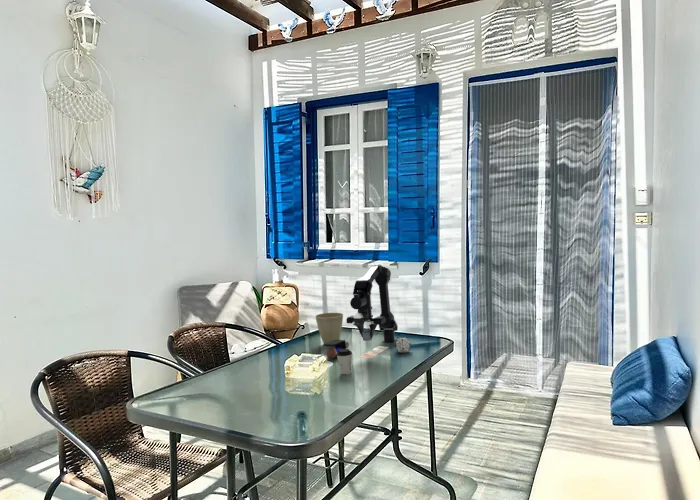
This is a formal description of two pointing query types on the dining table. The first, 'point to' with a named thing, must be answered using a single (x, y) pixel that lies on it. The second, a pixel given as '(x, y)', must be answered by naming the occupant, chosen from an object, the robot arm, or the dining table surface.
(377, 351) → the board
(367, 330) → the pawn
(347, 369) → the coffee cup
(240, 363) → the dining table surface
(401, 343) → the game die
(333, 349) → the figurine character
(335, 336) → the plant pot
